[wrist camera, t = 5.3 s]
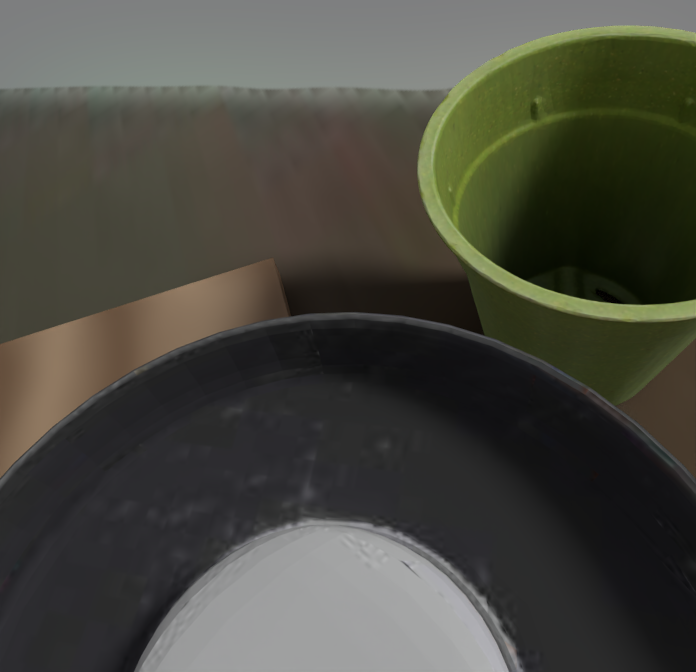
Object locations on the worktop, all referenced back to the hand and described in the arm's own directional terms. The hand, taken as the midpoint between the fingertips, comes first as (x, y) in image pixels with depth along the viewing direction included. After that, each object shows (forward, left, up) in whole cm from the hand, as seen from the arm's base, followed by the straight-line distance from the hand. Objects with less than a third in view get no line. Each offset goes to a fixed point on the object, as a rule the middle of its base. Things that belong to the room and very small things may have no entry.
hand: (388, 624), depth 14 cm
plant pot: (0, +15, -10) cm, 18 cm away
